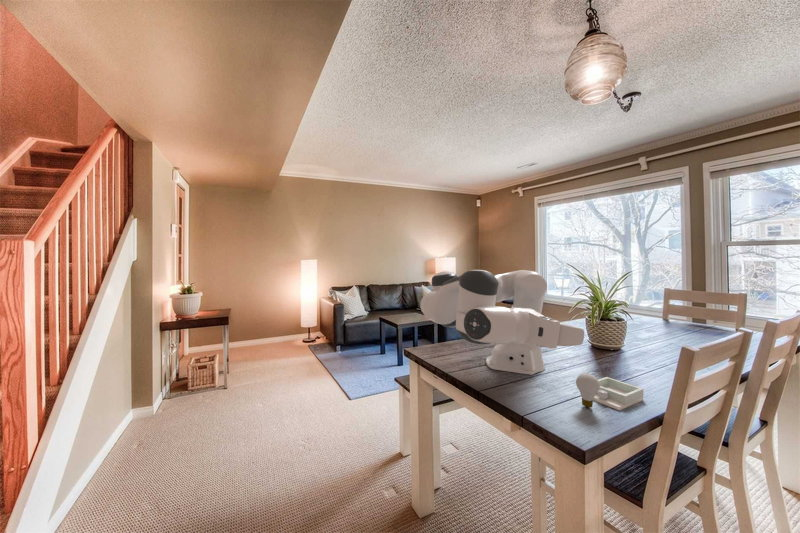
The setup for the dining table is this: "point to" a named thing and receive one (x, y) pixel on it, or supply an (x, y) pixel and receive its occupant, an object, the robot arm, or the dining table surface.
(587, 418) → the dining table surface
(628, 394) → the housing base
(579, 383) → the light bulb
